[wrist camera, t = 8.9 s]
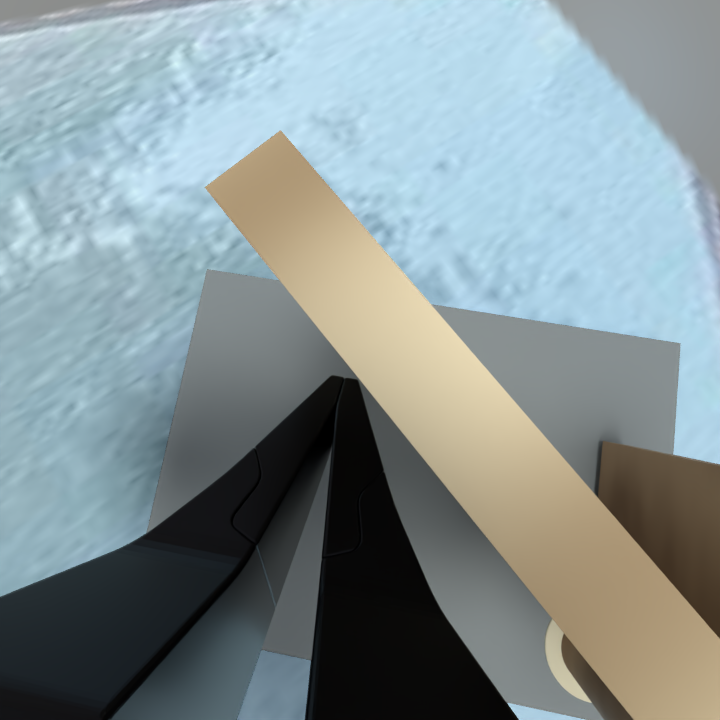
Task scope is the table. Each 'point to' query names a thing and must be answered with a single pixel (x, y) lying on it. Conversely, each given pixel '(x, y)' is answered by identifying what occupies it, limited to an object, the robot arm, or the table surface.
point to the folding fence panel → (477, 440)
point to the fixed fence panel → (660, 537)
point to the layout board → (417, 457)
